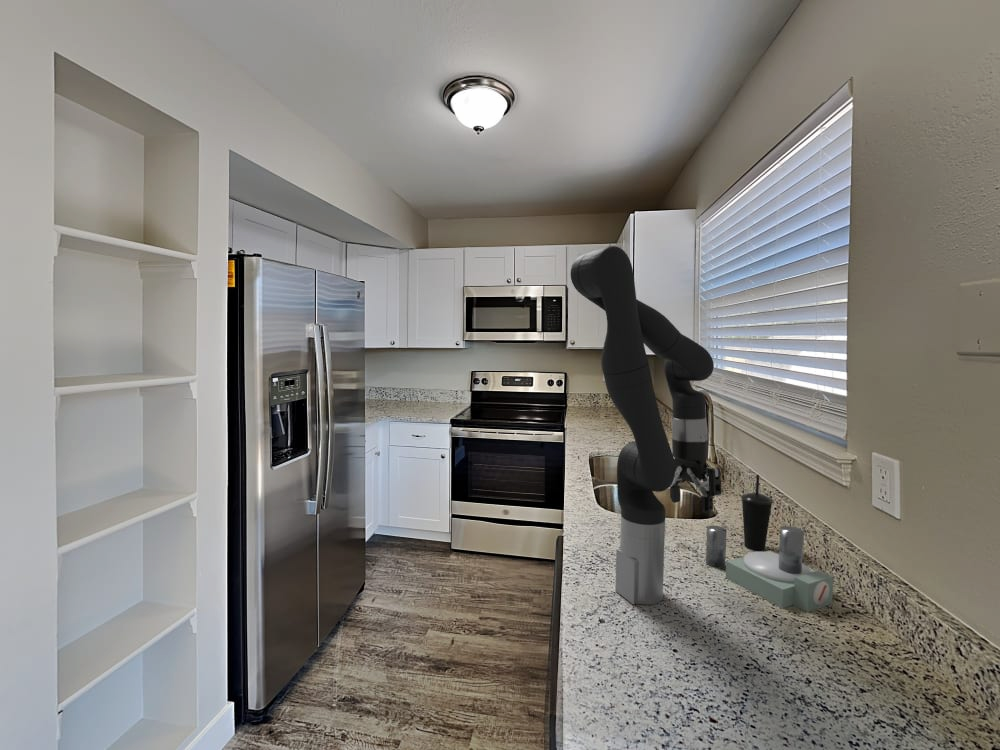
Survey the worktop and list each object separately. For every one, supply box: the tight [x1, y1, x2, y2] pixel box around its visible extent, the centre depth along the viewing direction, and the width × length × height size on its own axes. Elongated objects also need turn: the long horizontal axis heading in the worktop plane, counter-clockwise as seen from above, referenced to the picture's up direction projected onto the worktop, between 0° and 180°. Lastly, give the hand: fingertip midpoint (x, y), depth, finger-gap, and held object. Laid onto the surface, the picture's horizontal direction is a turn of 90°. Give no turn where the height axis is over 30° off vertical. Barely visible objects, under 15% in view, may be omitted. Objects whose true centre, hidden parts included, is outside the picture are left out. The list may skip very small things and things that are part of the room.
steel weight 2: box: [778, 525, 805, 574], centre depth 104 cm, size 4×4×9 cm
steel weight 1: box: [705, 525, 728, 569], centre depth 117 cm, size 4×4×9 cm
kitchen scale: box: [725, 549, 834, 613], centre depth 105 cm, size 15×18×6 cm
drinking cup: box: [740, 474, 774, 552], centre depth 126 cm, size 8×8×20 cm
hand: (690, 507), depth 107 cm, fingers open, 8 cm apart
